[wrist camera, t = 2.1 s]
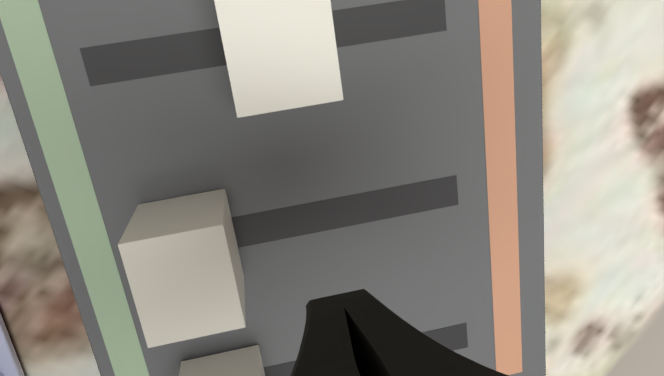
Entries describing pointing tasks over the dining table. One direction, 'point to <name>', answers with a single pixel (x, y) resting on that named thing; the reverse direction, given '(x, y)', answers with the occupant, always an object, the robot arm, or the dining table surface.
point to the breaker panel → (297, 168)
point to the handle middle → (184, 268)
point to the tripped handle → (279, 54)
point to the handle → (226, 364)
